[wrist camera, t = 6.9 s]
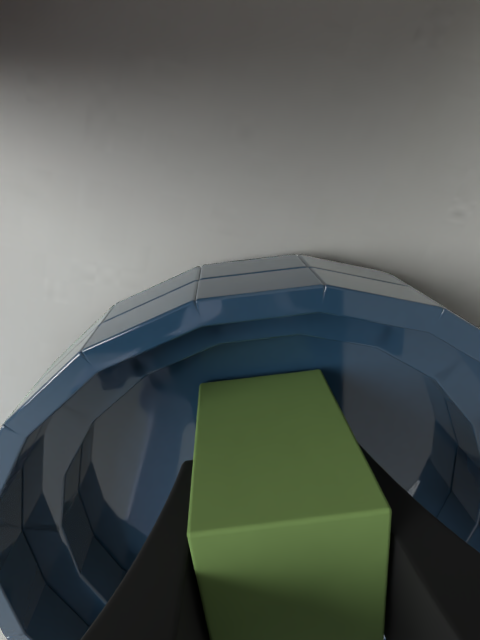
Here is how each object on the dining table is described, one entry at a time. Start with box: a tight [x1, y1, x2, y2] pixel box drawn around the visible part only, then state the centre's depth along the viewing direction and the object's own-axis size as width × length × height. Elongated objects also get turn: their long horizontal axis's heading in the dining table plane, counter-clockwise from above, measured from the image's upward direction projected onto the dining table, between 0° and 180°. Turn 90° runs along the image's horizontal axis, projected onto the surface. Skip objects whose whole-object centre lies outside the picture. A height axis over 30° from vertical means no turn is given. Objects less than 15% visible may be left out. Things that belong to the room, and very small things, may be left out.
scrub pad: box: [187, 369, 392, 640], centre depth 10 cm, size 5×4×5 cm
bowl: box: [0, 254, 480, 640], centre depth 12 cm, size 16×16×4 cm
